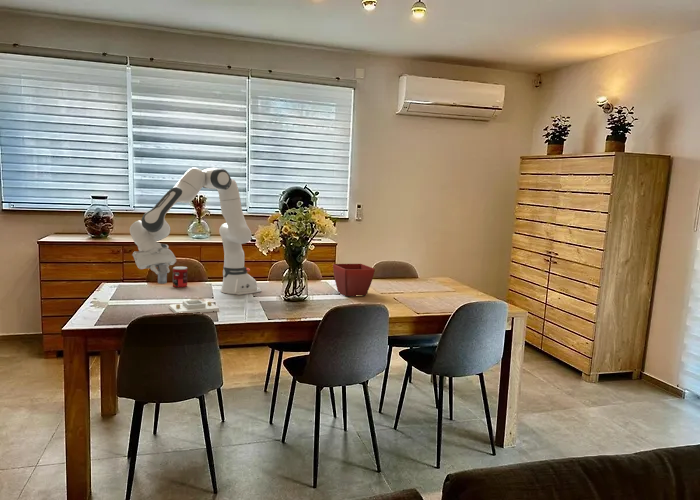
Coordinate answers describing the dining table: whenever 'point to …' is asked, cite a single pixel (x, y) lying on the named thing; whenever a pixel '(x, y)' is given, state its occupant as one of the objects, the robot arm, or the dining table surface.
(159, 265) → the pin
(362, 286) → the plant pot
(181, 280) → the canned food
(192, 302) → the housing
